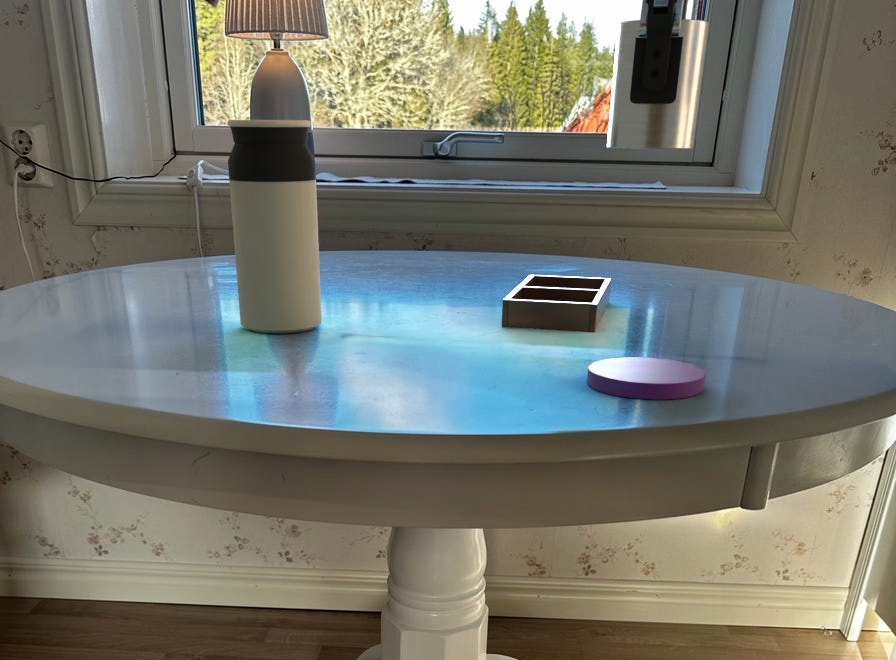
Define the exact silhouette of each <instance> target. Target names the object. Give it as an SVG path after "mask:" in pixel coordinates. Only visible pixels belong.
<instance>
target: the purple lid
mask: <svg viewBox="0 0 896 660" xmlns="http://www.w3.org/2000/svg"><path fill="white" fill-rule="evenodd" d="M706 376H707V374H706V371H705V370H704V369H702V367H699V366H696V365H694V364H691V363H687V362H683V361H680V360H679V361H678V360H673V359H667V358H659V357H642V356H634V357H633V356H624V357H611V358H604V359H600V360H596V361H594V362H591V363H590V364H589V365H588V367H587V376H586V384H587V385H588V387H590V388H591V389H593V390H595V391H598V392H601V393H602V394H607V395H610V396H616V397H620V398H621V397H622V398H627V399H628V398H629V399H635V400H636V399H638V400H651V401H654V400H657V401H661V400H662V401H663V400H677V399H678V400H679V399H686V398H690V397H694V396H698V395H699V394H702V393H703V392H704V389H705V382H706Z"/></svg>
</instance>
